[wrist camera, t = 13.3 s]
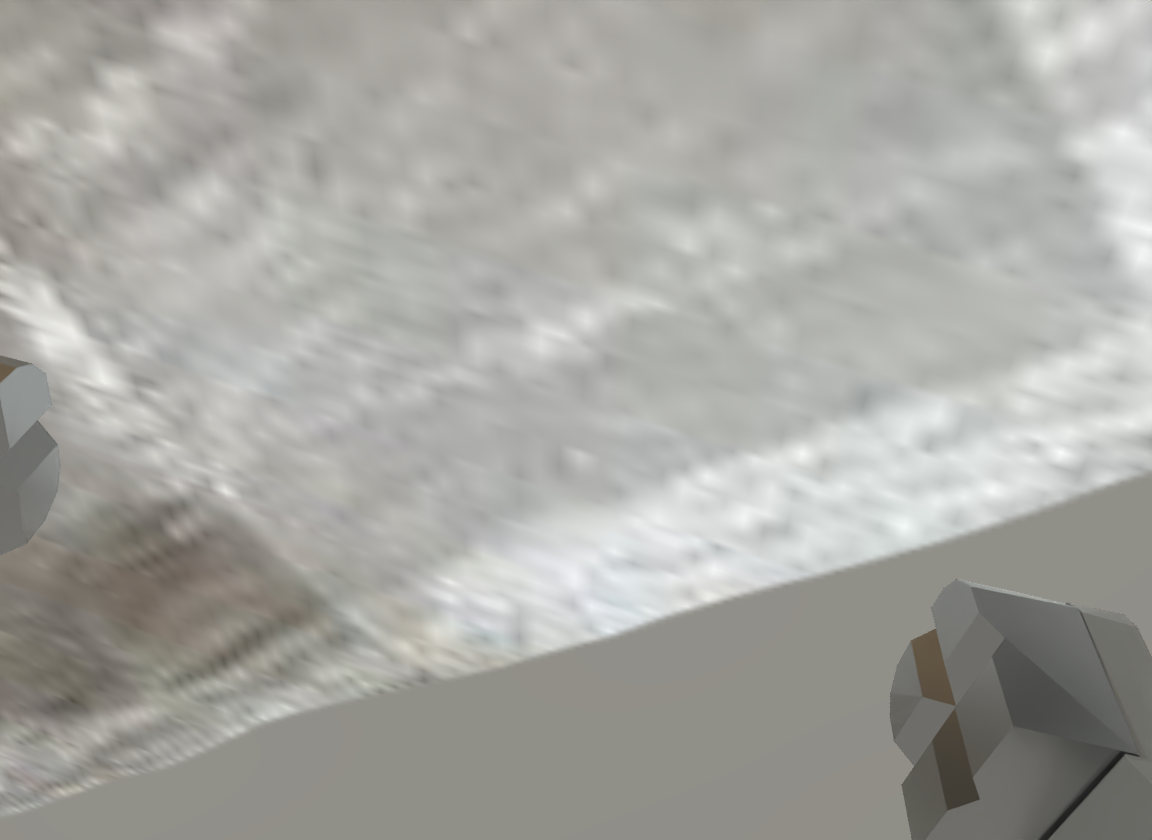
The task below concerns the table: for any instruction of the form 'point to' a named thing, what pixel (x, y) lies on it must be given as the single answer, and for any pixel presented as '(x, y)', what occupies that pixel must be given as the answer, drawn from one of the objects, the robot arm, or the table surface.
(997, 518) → the table surface
